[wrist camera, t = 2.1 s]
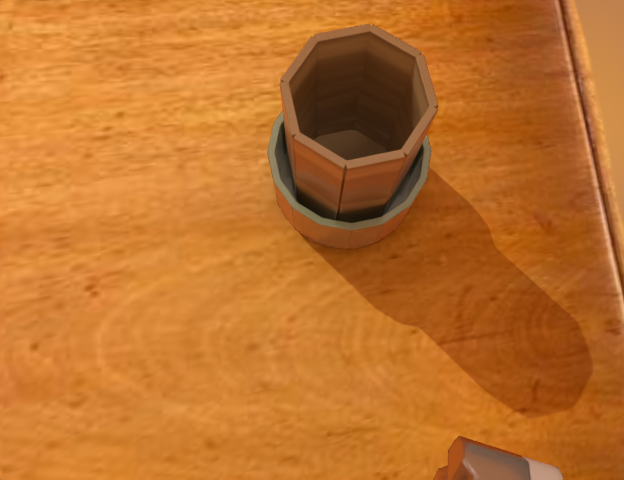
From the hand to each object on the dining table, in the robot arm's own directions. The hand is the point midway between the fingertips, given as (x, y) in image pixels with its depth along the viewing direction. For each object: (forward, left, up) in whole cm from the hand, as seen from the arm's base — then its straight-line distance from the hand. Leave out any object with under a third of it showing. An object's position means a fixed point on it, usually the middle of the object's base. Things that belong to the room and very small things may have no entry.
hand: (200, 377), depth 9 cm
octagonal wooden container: (+3, -12, -24) cm, 27 cm away
